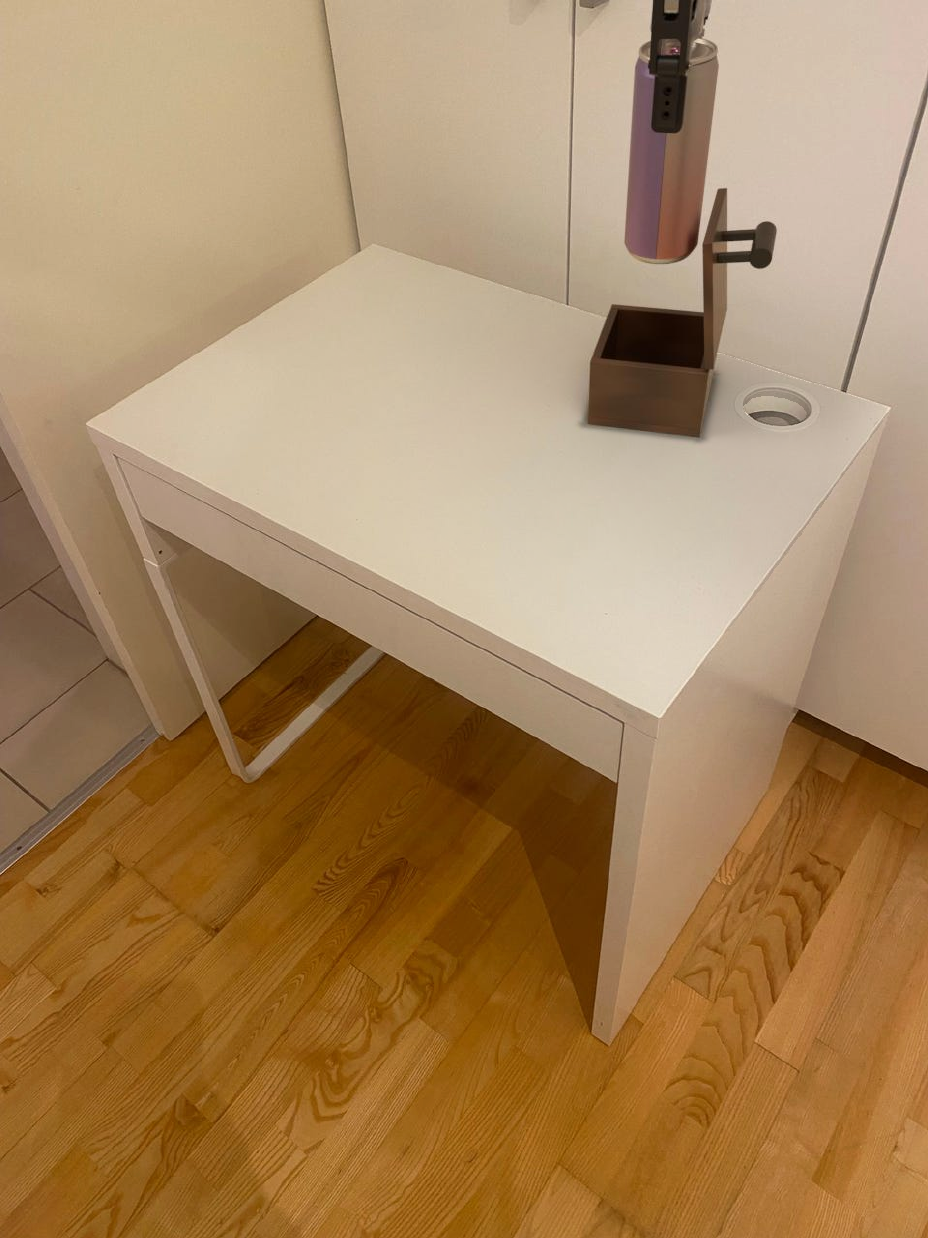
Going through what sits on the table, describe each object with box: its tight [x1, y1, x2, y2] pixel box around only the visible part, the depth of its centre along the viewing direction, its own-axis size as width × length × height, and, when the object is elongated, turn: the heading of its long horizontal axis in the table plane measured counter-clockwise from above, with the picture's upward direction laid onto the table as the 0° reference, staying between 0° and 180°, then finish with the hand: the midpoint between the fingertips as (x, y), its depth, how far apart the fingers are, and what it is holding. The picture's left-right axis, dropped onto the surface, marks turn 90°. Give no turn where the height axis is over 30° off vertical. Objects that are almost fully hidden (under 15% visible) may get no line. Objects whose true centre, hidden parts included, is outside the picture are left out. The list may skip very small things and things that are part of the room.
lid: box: [701, 187, 778, 370], centre depth 83 cm, size 11×11×5 cm
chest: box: [587, 303, 715, 438], centre depth 91 cm, size 11×11×7 cm
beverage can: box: [623, 37, 720, 265], centre depth 74 cm, size 6×6×15 cm
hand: (672, 113), depth 72 cm, fingers closed on beverage can, 6 cm apart
